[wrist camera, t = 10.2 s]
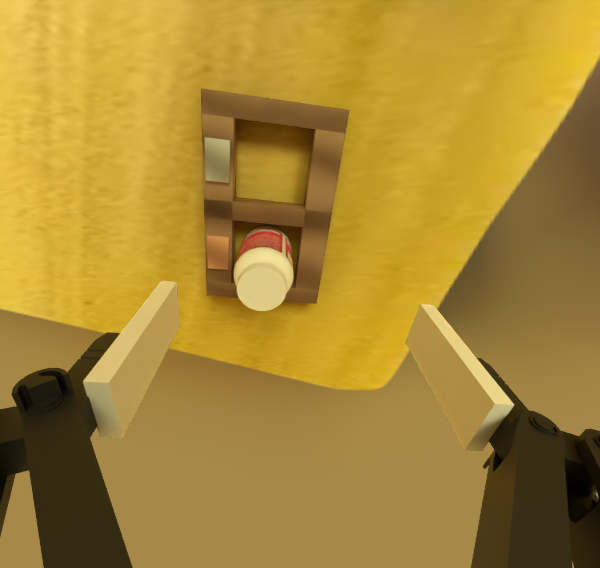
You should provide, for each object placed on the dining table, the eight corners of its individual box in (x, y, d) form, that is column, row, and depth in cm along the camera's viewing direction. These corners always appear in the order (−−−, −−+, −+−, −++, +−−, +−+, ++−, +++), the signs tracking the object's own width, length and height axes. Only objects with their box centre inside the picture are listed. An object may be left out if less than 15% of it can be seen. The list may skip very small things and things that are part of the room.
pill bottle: (232, 247, 37) (214, 289, 27) (266, 214, 35) (260, 246, 25) (267, 279, 39) (262, 328, 30) (301, 249, 38) (308, 292, 28)
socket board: (207, 91, 29) (199, 88, 27) (344, 111, 31) (350, 109, 28) (211, 286, 39) (206, 296, 37) (314, 294, 41) (316, 305, 38)
